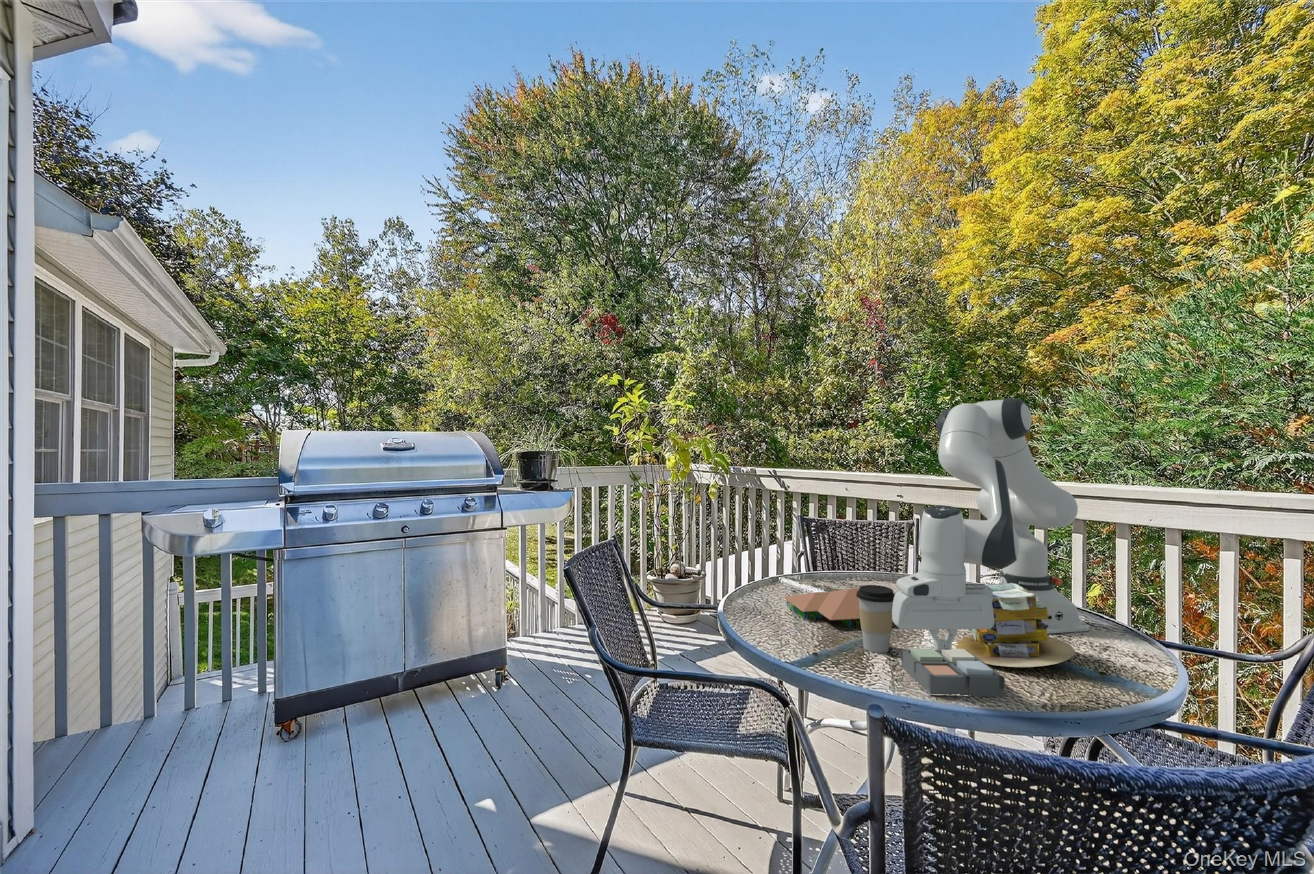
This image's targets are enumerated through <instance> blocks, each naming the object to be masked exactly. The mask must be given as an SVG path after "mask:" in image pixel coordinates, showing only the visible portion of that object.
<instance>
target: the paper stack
mask: <svg viewBox="0 0 1314 874" xmlns="http://www.w3.org/2000/svg"><path fill="white" fill-rule="evenodd" d="M982 584H985V583H984V582H983V583H982ZM985 585H986V586H988V587H990V588H991V590H992V592H993V600H992V606H993V612H994V625H993V627H992V628H991V629H970V632H971V635H969V636H967V637H964V638H961V639H960V640H958V641H957V642H956V643H955V649H965V650H968V651H969V652H971V653H972V654H973V655H975V656H976V657H977V658H979V659H980V660H981V661H983V662H984V663H985V664H987V665H991V666H1000V667H1009V668H1011V667H1012V668H1034V667H1045V666H1050V665H1056V664H1060V663H1063V662H1066V661H1068V660H1069V659H1071V658H1072V657H1074V655H1075V653H1076V651H1075V648H1074V647H1073V646H1072V645H1071V644H1070V643H1068V642H1067V641H1064V640H1061V639H1059V638H1055V637H1052V636H1048V634H1047V630H1046V628H1048V625H1045V624H1044V623H1042V620H1041V619H1048V613H1047V607H1046V606H1045V605H1042V604H1041V603H1040V602H1039V601H1037V600H1036V596H1035V594H1033V593H1032V592H1030V591H1029V593H1028V591H1026V590H1027V589H1026V590H1025V589H1024V588H1023V587H1020V586H1019V584H1018V585H1017V584H1014V583H1009V584H1001V583H1000V582H999V583H991V584H985ZM985 589H988V588H985ZM956 644H958V645H956Z"/></svg>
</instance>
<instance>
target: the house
mask: <svg viewBox="0 0 1314 874" xmlns="http://www.w3.org/2000/svg"><path fill="white" fill-rule="evenodd" d="M858 590H859V588H849V589H848V588H847V589H838V590H834V591H821V592H820V591H819V592H809V593H808V592H807V593H803V594H796V595H795V594H794V595H787V596H783V598H784V599H785V600H786V607H787V608H788V609H789V610H791V611H792V612H793V613H794V614H795V615H798V613H800V615H801V619H802V620H803V621H808V619H809V618H808V616H809V617H811V616H812V618H811V620H812V621H814V620H813V619H814V617H816V612H817V613H818V618H819V619H820V620H824V617H825V620H827V619H828V620H829V621H840V622H841V623H842V624H844V625H846V626H847V627H849V628H850V629H851V625H852V622H851V620H858V621H857V624H858V625H857V627H860V626H859V625H860V612H859V606H860V605H859V598H858V597H857V596H856V594H857V591H858ZM809 613H810V614H809ZM808 614H809V615H808ZM806 618H807V619H806ZM893 625H895V624H894V623H893Z"/></svg>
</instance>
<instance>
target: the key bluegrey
mask: <svg viewBox="0 0 1314 874" xmlns="http://www.w3.org/2000/svg"><path fill="white" fill-rule="evenodd" d="M988 666H989V665H988ZM988 666H986V665H985V664H984V663H982V662H981V661H957V667H958V668H959V669H961V670H962V671H963V672H964V673H965V674H967V675H993V670H992V669H993V668H992V669H990V668H989V667H988Z"/></svg>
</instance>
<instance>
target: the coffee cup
mask: <svg viewBox="0 0 1314 874" xmlns="http://www.w3.org/2000/svg"><path fill="white" fill-rule="evenodd" d="M858 589H859V590H858V591H857V594H856V596H857V597H858V598H859V605H860V606H859V612H860V619H859V623H860V629H861V632H862V633H861V634H862V643H863V649H864V650H866V651H868V652H870V653H876V654H884V653H888V652H889V650H890V644H891V643H890V642H891V634H892V629H893V628H892V627H893V623H894V622H893V620H892V607H893V599H894V596H895V594H896V593H894V590H893V589H892V588H890V587H887V586H883V585H877V584H876V585H875V584H866V585H861V586H859V588H858Z"/></svg>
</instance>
